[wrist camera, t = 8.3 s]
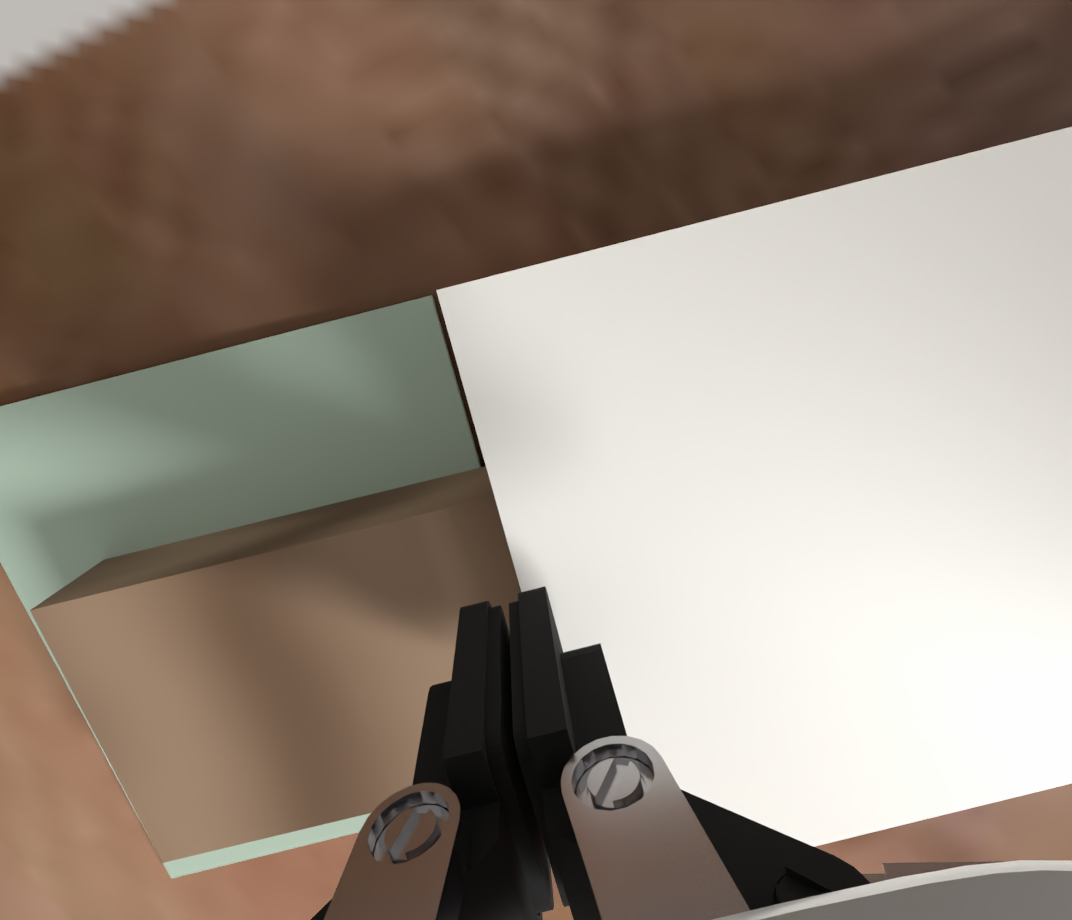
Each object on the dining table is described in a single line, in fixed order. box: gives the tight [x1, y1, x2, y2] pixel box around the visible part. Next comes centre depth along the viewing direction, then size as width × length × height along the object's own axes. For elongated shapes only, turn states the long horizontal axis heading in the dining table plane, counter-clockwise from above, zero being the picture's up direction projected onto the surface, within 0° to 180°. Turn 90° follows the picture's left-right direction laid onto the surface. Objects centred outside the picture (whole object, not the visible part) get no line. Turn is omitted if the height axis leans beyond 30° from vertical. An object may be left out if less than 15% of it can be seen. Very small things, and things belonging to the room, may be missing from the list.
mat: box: [0, 295, 481, 879], centre depth 16 cm, size 12×14×1 cm
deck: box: [436, 127, 1072, 847], centre depth 14 cm, size 18×14×4 cm
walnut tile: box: [30, 466, 521, 863], centre depth 15 cm, size 10×7×2 cm
